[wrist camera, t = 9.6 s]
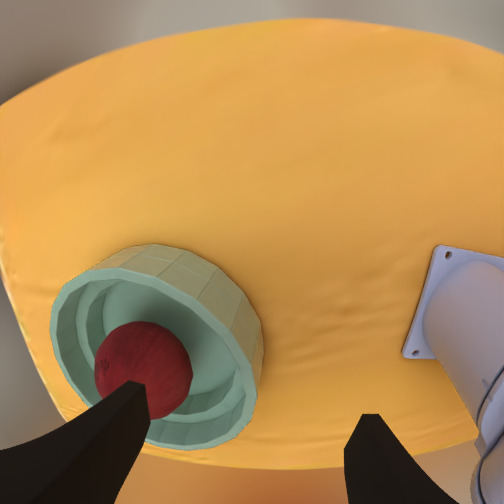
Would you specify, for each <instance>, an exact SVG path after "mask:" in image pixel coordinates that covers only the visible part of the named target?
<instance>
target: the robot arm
mask: <svg viewBox="0 0 504 504" xmlns="http://www.w3.org/2000/svg"><path fill="white" fill-rule="evenodd" d="M448 251H449V255H448V257H447V258H445V254H446V253H447V252H448ZM415 350H417V351H416V352H415V353H413V352H414V351H415ZM402 355H403V357H404V358H407V359H438V361H439V363H440V364H441V366H442V367H443V369H444V371H445V372H446V374H447V375H448V377H449V379H450V380H451V382H452V384H453V385H454V387H455V389H456V390H457V392H458V394H459V395H460V397H461V399H462V401H463V402H464V404H465V406H466V408H467V409H468V411H469V413H470V415H471V416H472V418H473V420H474V422H475V424H476V426H477V427H478V429H479V435H478V438H477V439H476V441H475V446H476V448H477V450H478V452H479V454H480V456H481V459H480V460H479V462H478V463H477V465H476V467H475V469H474V472H473V474H472V479H471V499H472V502H473V504H504V258H503V257H498V256H493V255H489V254H484V253H479V252H475V251H470V250H465V249H460V248H455V247H450V246H445V245H438V246H437V247H436V248H435V249H434V252H433V256H432V260H431V264H430V267H429V271H428V275H427V278H426V282H425V285H424V289H423V292H422V295H421V298H420V301H419V305H418V308H417V311H416V314H415V316H414V319H413V322H412V325H411V328H410V331H409V333H408V336H407V339H406V341H405V344H404V346H403V349H402ZM150 424H151V420H150V414H149V407H148V401H147V394H146V387H145V384H141V383H138V382H134V381H131V380H128V381H127V382H125V383H124V384H122V385H121V386H120V387H118V388H117V389H116V390H114V391H113V392H112V393H110V394H109V395H108V396H106V397H105V398H104V399H102V400H101V401H100V402H98V403H97V404H95V405H94V406H92V407H91V408H89V409H88V410H87V411H85V412H84V413H82V414H81V415H79V416H77V417H76V418H74V419H73V420H71V421H69V422H67V423H66V424H64V425H63V426H61V427H59V428H57V429H55V430H53V431H51V432H49V433H47V434H45V435H43V436H41V437H39V438H36V439H34V440H31V441H29V442H26V443H23V444H20V445H17V446H14V447H11V448H8V449H3V450H0V504H114V502H115V500H116V498H117V495H118V493H119V491H120V489H121V487H122V485H123V483H124V481H125V479H126V477H127V475H128V474H129V472H130V470H131V468H132V466H133V464H134V462H135V460H136V458H137V456H138V454H139V452H140V450H141V448H142V446H143V444H144V441H145V439H146V436H147V433H148V430H149V427H150ZM344 474H345V481H346V488H347V495H348V502H349V504H459V503H458V502H456V501H455V500H454V499H453V498H451V497H450V496H449V495H448V494H447V493H445V492H444V491H443V490H442V489H441V488H440V487H439V486H438V485H437V484H435V482H434V481H432V480H431V478H430V477H429V476H428V475H427V474H426V473H425V472H424V471H423V470H422V469H421V467H420V466H419V465H418V464H417V463H416V462H415V461H414V459H413V458H412V457H411V456H410V454H409V453H408V452H407V451H406V449H405V448H404V447H403V446H402V444H401V443H400V442H399V440H398V439H397V438H396V436H395V435H394V434H393V432H392V431H391V430H390V428H389V427H388V426H387V424H386V423H385V422H384V420H383V419H382V418H381V416H380V415H379V414H362V416H361V418H360V420H359V422H358V424H357V426H356V428H355V430H354V431H353V433H352V435H351V437H350V439H349V441H348V443H347V444H346V446H345V448H344Z"/></svg>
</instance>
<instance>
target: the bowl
mask: <svg viewBox="0 0 504 504" xmlns="http://www.w3.org/2000/svg"><path fill="white" fill-rule="evenodd" d="M133 321H146V322H154V323H157V324H159V325H161V326H163V327H165V328H167V329H169V330H170V331H171V332H172V333H173V334H174V335H175V336H176V337H177V338H178V339H179V340H180V341H181V342H182V344H183V345H184V347H185V349H186V350H187V352H188V354H189V357H190V361H191V365H192V370H193V374H194V375H193V379H192V382H191V386H190V390H189V394H188V397H187V398H186V399H185V401H184V402H183V403H182V404H181V405H180V406H179V407H178V408H177V409H176V410H174V411H173V412H172V413H171V414H169V415H168V416H166V417H164V418H161V419H155V420H151V424H150V427H149V430H148V433H147V436H146V439H145V441H144V442H146V443H149V444H152V445H155V446H158V447H162V448H169V449H177V450H185V451H186V450H187V451H189V450H198V449H207V448H212V447H216V446H218V445H220V444H222V443H225V442H227V441H229V440H231V439H233V438H235V437H236V436H237V435H238V434H239V433H240V432H241V431H242V430H243V428H244V427H245V426H246V425H247V424H248V423H249V422H250V421H251V419H252V415H253V412H254V408H255V404H256V400H257V397H258V390H259V384H260V377H261V371H262V364H263V357H264V351H265V350H264V343H263V336H262V330H261V324H260V320H259V318H258V317H257V315H256V313H255V311H254V309H253V308H252V306H251V304H250V302H249V300H248V298H247V296H246V295H245V293H244V292H243V291H242V290H241V289H240V288H239V287H238V286H237V285H236V284H235V283H234V282H233V281H232V280H231V279H230V278H229V277H228V276H227V275H226V274H225V273H224V272H223V271H222V270H221V269H220V268H218V267H217V266H216V265H214V264H212V263H210V262H208V261H206V260H204V259H203V258H201V257H199V256H197V255H195V254H193V253H192V252H190V251H188V250H184V249H179V248H174V247H169V246H164V245H159V244H148V245H141V246H134V247H128V248H124V249H123V250H121V251H119V252H117V253H116V254H114V255H112V256H110V257H109V258H107V259H105V260H103V261H102V262H100V263H98V264H96V265H95V266H93V267H91V268H90V269H88V270H86V271H85V272H83V273H81V274H80V275H78V276H77V277H75V278H74V279H72V280H71V281H69V282H67V283H66V284H65V285H64V286H63V287H62V289H61V291H60V293H59V295H58V296H57V298H56V300H55V302H54V304H53V305H52V311H51V321H50V335H51V340H52V345H53V349H54V354H55V356H56V359H57V361H58V363H59V366H60V368H61V370H62V372H63V374H64V376H65V378H66V379H67V381H68V383H69V384H70V385H71V387H72V388H73V389H74V391H75V392H76V393H77V394H78V396H79V397H80V398H81V399H82V401H83V402H84V403H85V404H86V405H87V406H88V407H89V408H91V407H92V406H94V405H95V404H97V403H98V402H100V401H101V400H102V398H101V396H100V395H99V393H98V390H97V388H96V385H95V379H94V364H95V356H96V352H97V349H98V348H99V346H100V345H101V343H102V342H103V341H104V339H105V338H106V337H107V336H108V334H109V333H110V332H111V331H112V330H114V329H115V328H117V327H119V326H120V325H124V324H127V323H129V322H133Z"/></svg>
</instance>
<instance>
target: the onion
mask: <svg viewBox="0 0 504 504" xmlns="http://www.w3.org/2000/svg"><path fill="white" fill-rule="evenodd" d="M193 375H194V374H193V370H192V365H191V361H190V357H189V354H188V352H187V350H186V349H185V347H184V345H183V344H182V342H181V341H180V340H179V339H178V338H177V337H176V336H175V335H174V334H173V333H172V332H171V331H170V330H169V329H167V328H165V327H163V326H161V325H159V324H157V323H154V322H146V321H133V322H129V323H127V324H124V325H120V326H119V327H117V328H115V329H114V330H112V331H111V332H110V333H109V334H108V336H107V337H106V338H105V339H104V341H103V342H102V343H101V345H100V346H99V348H98V349H97V352H96V356H95V364H94V379H95V385H96V388H97V390H98V393H99V395H100V396H101V398H102V399H104V398H105V397H106V396H108V395H109V394H110V393H112V392H113V391H114V390H116V389H117V388H118V387H120V386H121V385H122V384H124V383H125V382H127V381H128V380H131V381H134V382H138V383H141V384H145V387H146V394H147V401H148V407H149V414H150V420H155V419H161V418H164V417H166V416H168V415H169V414H171V413H172V412H173V411H174V410H176V409H177V408H178V407H179V406H180V405H181V404H182V403H183V402H184V401H185V399H186V398H187V397H188V394H189V390H190V386H191V382H192V379H193Z"/></svg>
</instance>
